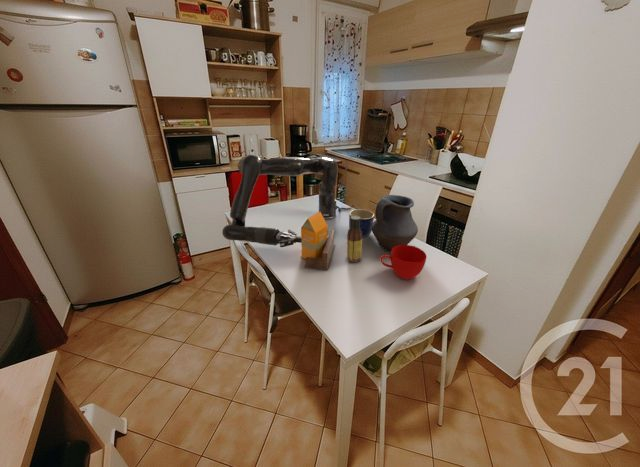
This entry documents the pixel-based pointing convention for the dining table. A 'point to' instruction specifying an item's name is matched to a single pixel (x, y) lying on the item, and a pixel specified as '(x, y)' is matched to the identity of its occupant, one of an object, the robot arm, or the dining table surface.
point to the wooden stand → (327, 252)
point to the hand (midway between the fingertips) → (304, 240)
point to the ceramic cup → (406, 261)
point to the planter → (363, 220)
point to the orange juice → (314, 236)
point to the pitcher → (394, 222)
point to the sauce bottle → (354, 240)
